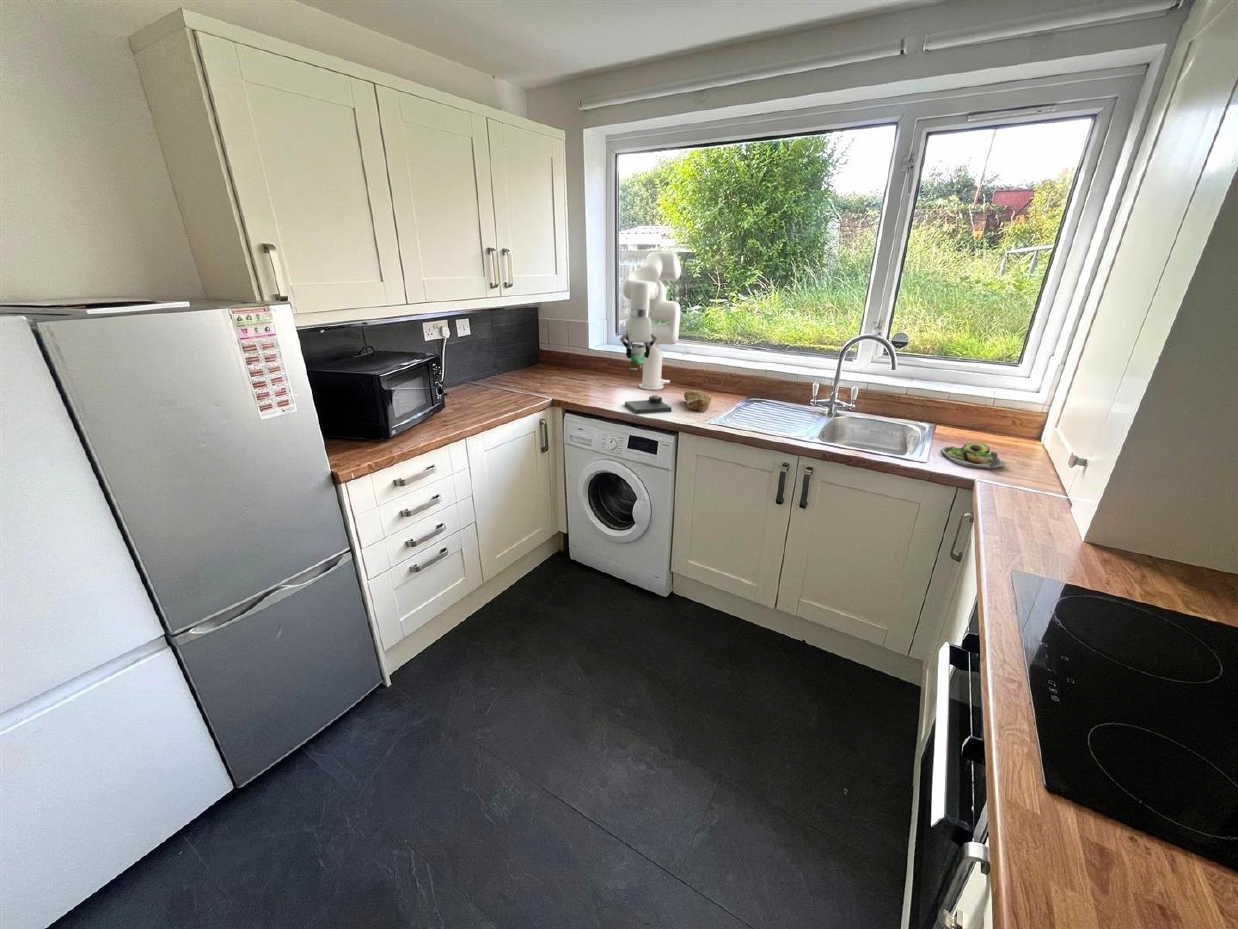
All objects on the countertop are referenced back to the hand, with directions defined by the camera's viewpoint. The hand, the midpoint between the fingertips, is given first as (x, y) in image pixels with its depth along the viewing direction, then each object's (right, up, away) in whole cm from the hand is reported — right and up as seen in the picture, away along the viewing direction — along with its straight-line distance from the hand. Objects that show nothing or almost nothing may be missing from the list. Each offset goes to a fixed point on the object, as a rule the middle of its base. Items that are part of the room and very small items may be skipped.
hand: (637, 357), depth 209 cm
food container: (0, -5, +2) cm, 5 cm away
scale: (+5, -21, +7) cm, 22 cm away
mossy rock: (+26, -19, +13) cm, 35 cm away
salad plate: (+111, -44, -42) cm, 126 cm away
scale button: (+8, -16, +11) cm, 21 cm away
